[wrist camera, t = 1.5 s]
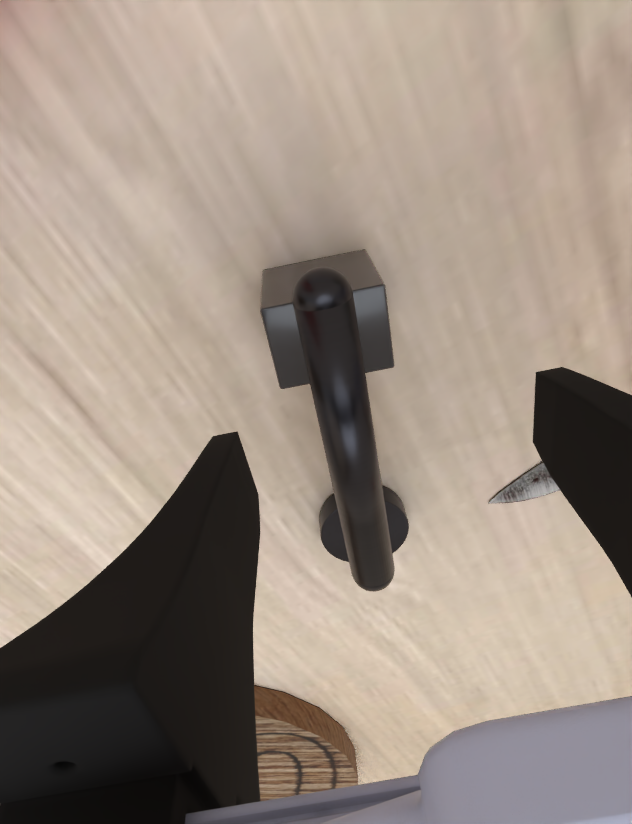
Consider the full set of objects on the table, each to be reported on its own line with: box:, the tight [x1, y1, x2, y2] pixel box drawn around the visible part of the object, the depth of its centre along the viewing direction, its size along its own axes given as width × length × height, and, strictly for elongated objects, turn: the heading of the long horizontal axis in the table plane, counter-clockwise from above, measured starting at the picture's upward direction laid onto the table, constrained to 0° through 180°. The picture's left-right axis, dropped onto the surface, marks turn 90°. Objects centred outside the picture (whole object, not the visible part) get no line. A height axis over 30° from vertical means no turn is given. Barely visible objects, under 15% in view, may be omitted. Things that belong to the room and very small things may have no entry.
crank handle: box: [292, 267, 409, 591], centre depth 21 cm, size 17×4×6 cm, turn 10°
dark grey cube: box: [260, 249, 394, 389], centre depth 19 cm, size 3×4×4 cm
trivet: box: [254, 686, 358, 801], centre depth 39 cm, size 25×25×2 cm
